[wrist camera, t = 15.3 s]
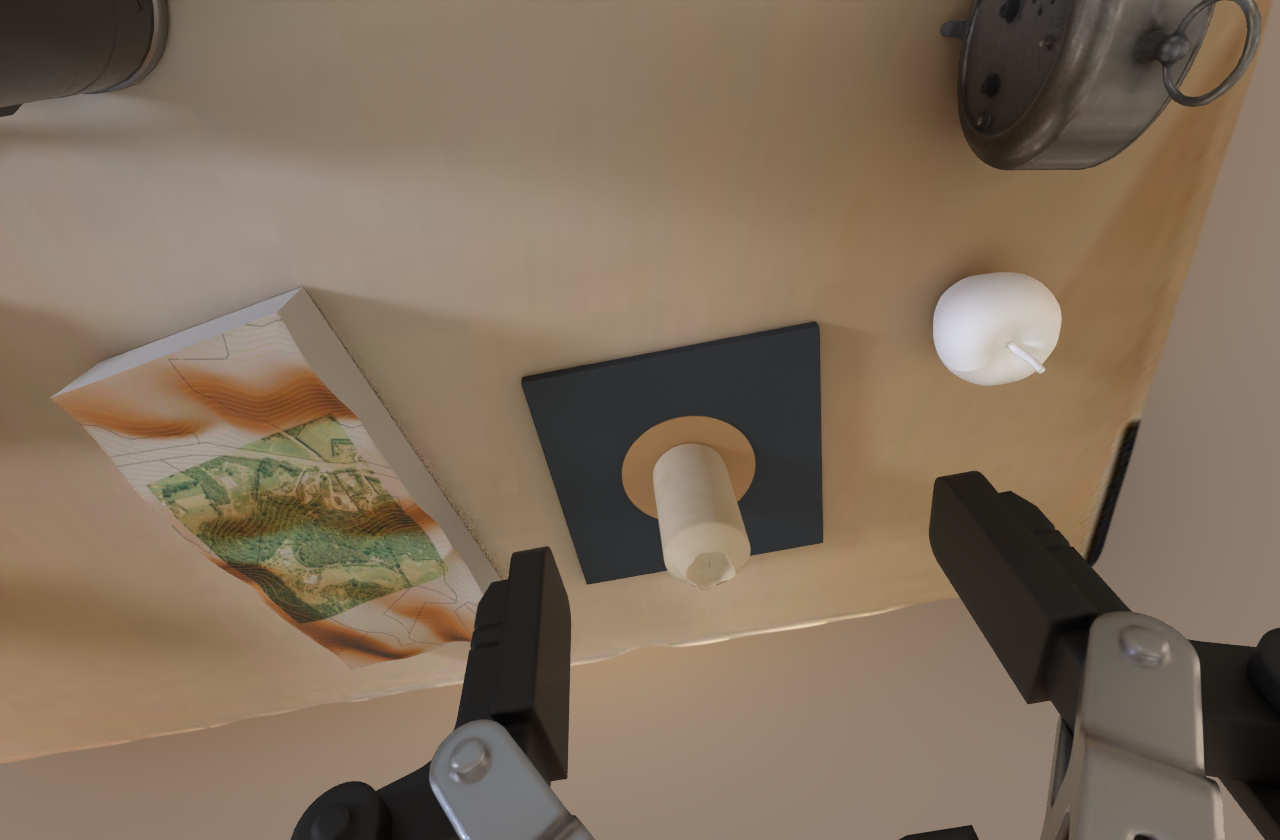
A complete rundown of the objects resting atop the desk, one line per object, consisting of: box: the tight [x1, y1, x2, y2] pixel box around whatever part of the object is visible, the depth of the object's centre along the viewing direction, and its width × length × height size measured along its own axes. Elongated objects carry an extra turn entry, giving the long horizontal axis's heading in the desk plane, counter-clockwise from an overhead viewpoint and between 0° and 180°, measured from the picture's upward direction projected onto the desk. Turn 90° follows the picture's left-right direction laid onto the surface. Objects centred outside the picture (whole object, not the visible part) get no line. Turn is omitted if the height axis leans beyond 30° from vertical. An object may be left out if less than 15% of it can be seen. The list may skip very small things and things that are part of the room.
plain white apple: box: [933, 272, 1062, 386], centre depth 39 cm, size 7×7×8 cm
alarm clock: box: [941, 0, 1261, 170], centre depth 26 cm, size 11×5×16 cm, turn 0°
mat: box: [521, 322, 823, 584], centre depth 47 cm, size 20×20×1 cm
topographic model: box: [50, 287, 502, 670], centre depth 45 cm, size 30×14×5 cm, turn 19°
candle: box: [653, 443, 751, 590], centre depth 43 cm, size 6×6×10 cm
